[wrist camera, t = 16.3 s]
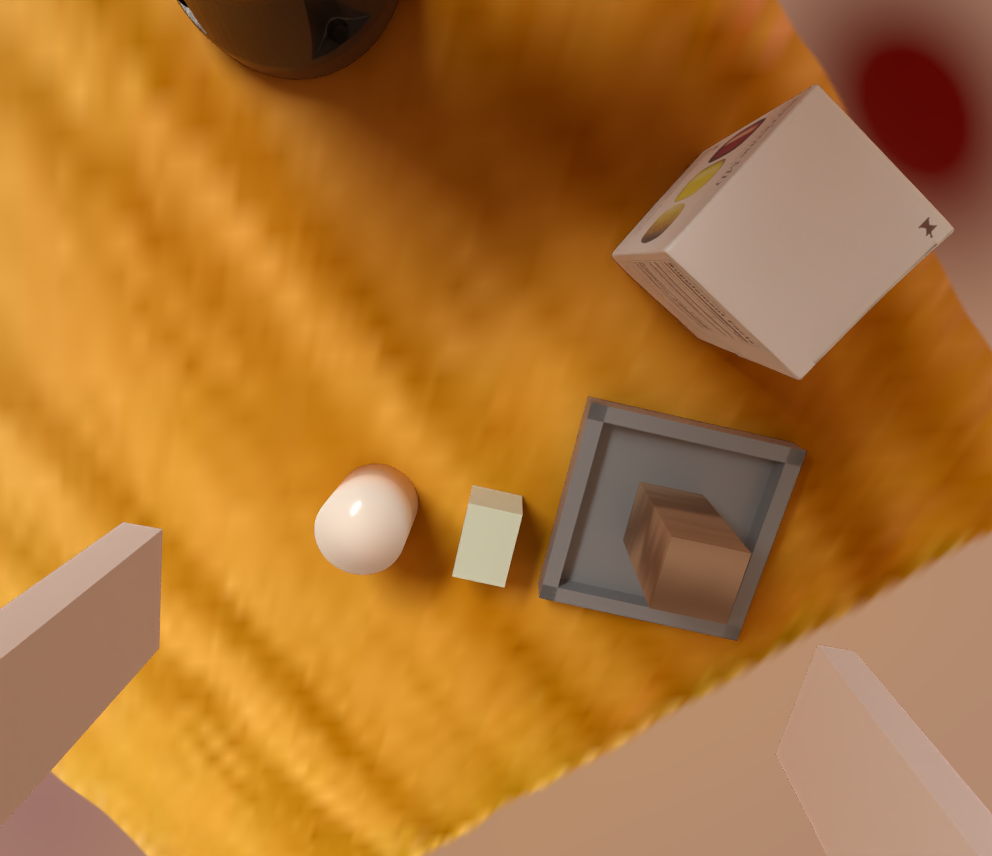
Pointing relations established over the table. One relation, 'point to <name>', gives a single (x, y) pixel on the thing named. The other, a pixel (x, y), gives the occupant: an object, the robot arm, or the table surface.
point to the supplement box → (782, 235)
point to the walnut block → (684, 553)
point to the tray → (670, 463)
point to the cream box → (488, 536)
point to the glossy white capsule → (367, 519)
